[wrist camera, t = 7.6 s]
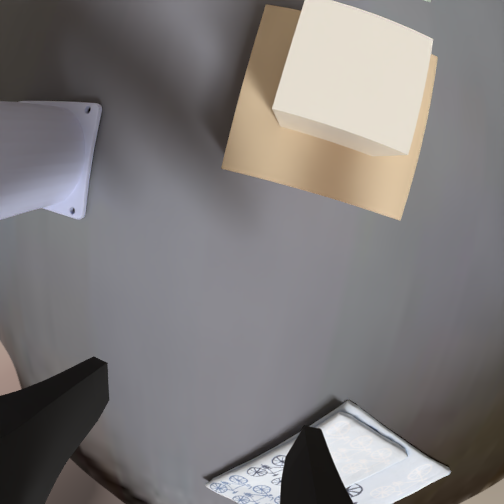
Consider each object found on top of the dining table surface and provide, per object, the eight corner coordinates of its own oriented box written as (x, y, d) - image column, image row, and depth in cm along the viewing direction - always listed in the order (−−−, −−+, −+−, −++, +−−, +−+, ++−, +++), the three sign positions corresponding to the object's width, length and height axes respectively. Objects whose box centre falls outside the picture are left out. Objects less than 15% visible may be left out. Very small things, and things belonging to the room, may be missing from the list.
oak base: (233, 167, 17) (221, 168, 15) (271, 26, 15) (266, 4, 12) (384, 210, 17) (400, 220, 14) (418, 70, 14) (437, 56, 11)
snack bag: (346, 391, 21) (348, 410, 19) (451, 465, 23) (455, 478, 21) (203, 474, 27) (199, 489, 25) (325, 526, 29) (325, 538, 27)
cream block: (280, 126, 14) (272, 108, 9) (304, 43, 12) (306, -6, 8) (372, 156, 13) (408, 155, 9) (394, 72, 12) (433, 39, 7)
